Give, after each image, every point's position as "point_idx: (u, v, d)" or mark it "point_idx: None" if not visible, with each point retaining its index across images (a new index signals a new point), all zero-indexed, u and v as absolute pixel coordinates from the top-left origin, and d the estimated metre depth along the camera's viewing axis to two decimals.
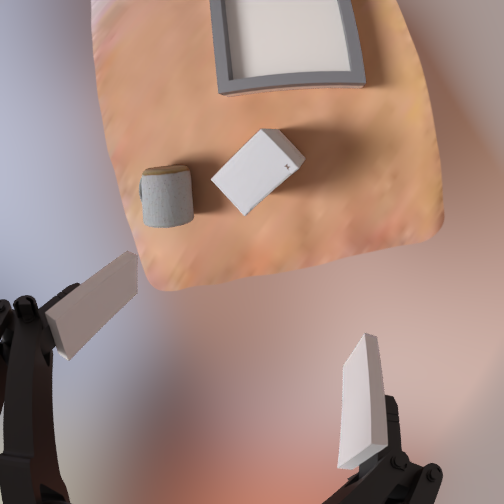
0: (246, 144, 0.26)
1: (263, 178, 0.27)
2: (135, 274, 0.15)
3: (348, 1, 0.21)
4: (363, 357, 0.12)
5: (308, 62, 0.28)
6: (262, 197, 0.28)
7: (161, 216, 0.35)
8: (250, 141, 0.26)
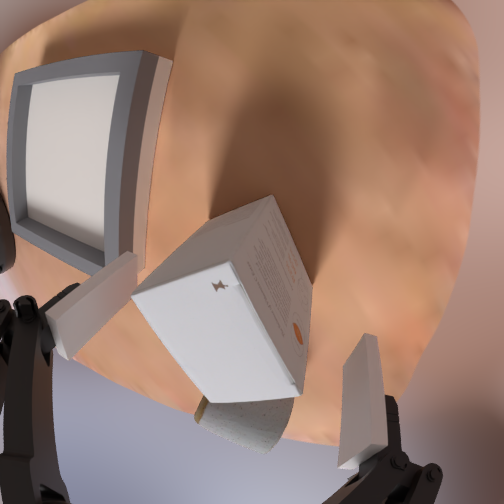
0: (156, 333, 0.12)
1: (233, 340, 0.11)
2: (135, 274, 0.15)
3: (41, 68, 0.14)
4: (363, 357, 0.12)
5: (109, 139, 0.18)
6: (276, 358, 0.11)
7: (257, 442, 0.20)
8: (151, 324, 0.12)
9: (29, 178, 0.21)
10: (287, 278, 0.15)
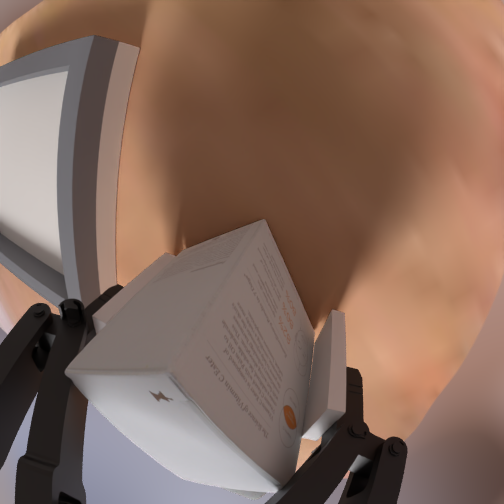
0: (103, 415, 0.08)
1: (193, 447, 0.07)
2: None
3: (1, 69, 0.10)
4: (329, 331, 0.13)
5: None
6: (254, 468, 0.07)
7: (245, 491, 0.16)
8: (95, 406, 0.07)
9: None
10: (279, 343, 0.11)
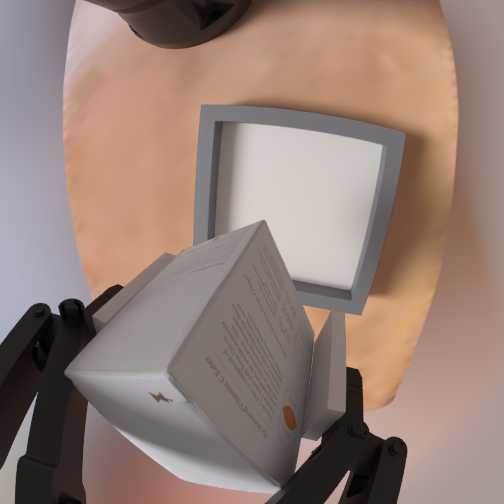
0: (103, 415, 0.08)
1: (193, 448, 0.07)
2: None
3: (391, 199, 0.21)
4: (329, 331, 0.13)
5: (306, 267, 0.28)
6: (254, 469, 0.07)
7: None
8: (95, 406, 0.07)
9: (270, 135, 0.24)
10: (279, 344, 0.11)
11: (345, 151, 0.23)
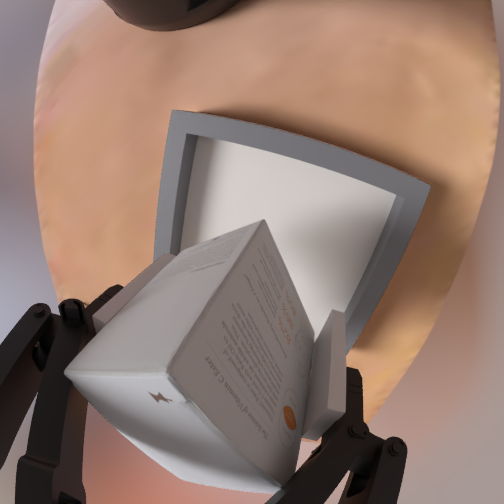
0: (102, 415, 0.08)
1: (193, 448, 0.07)
2: None
3: (394, 264, 0.17)
4: (328, 331, 0.13)
5: None
6: (254, 469, 0.07)
7: None
8: (94, 406, 0.07)
9: (256, 158, 0.19)
10: (279, 344, 0.11)
11: (348, 193, 0.18)
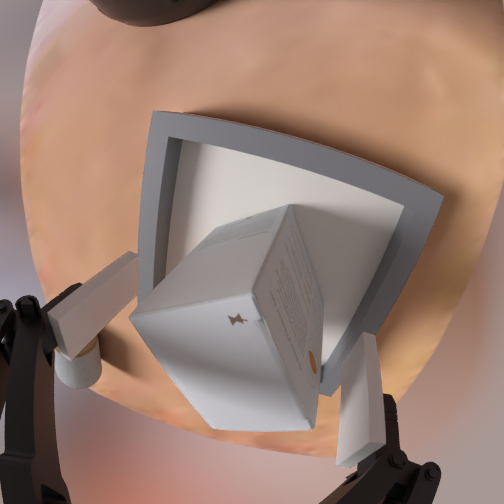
0: (157, 358, 0.10)
1: (246, 375, 0.09)
2: (137, 274, 0.15)
3: (400, 283, 0.15)
4: (361, 356, 0.12)
5: None
6: (293, 395, 0.10)
7: (68, 381, 0.28)
8: (152, 349, 0.10)
9: (247, 163, 0.17)
10: (304, 301, 0.14)
11: (351, 203, 0.16)
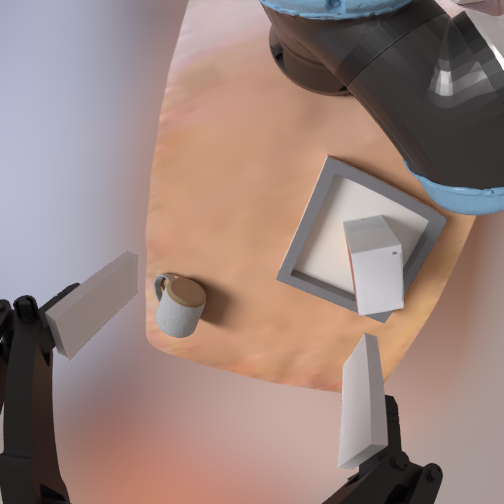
0: (354, 273, 0.27)
1: (390, 276, 0.26)
2: (135, 274, 0.15)
3: (425, 256, 0.32)
4: (363, 357, 0.12)
5: None
6: (402, 286, 0.26)
7: (174, 330, 0.43)
8: (354, 268, 0.26)
9: (364, 192, 0.33)
10: None
11: (406, 217, 0.33)
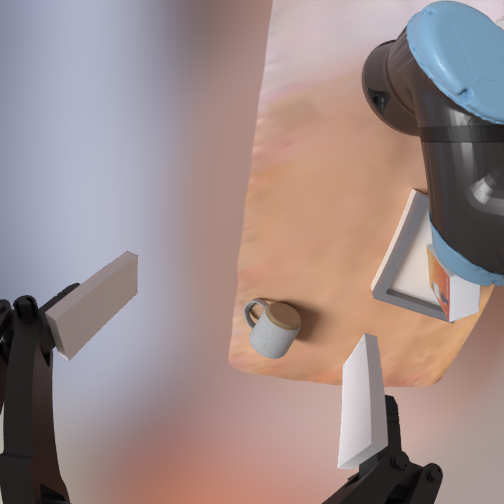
0: (450, 291, 0.29)
1: (472, 290, 0.28)
2: (135, 274, 0.15)
3: None
4: (363, 357, 0.12)
5: (433, 294, 0.40)
6: (479, 296, 0.28)
7: (273, 352, 0.46)
8: (451, 287, 0.28)
9: None
10: None
11: None
